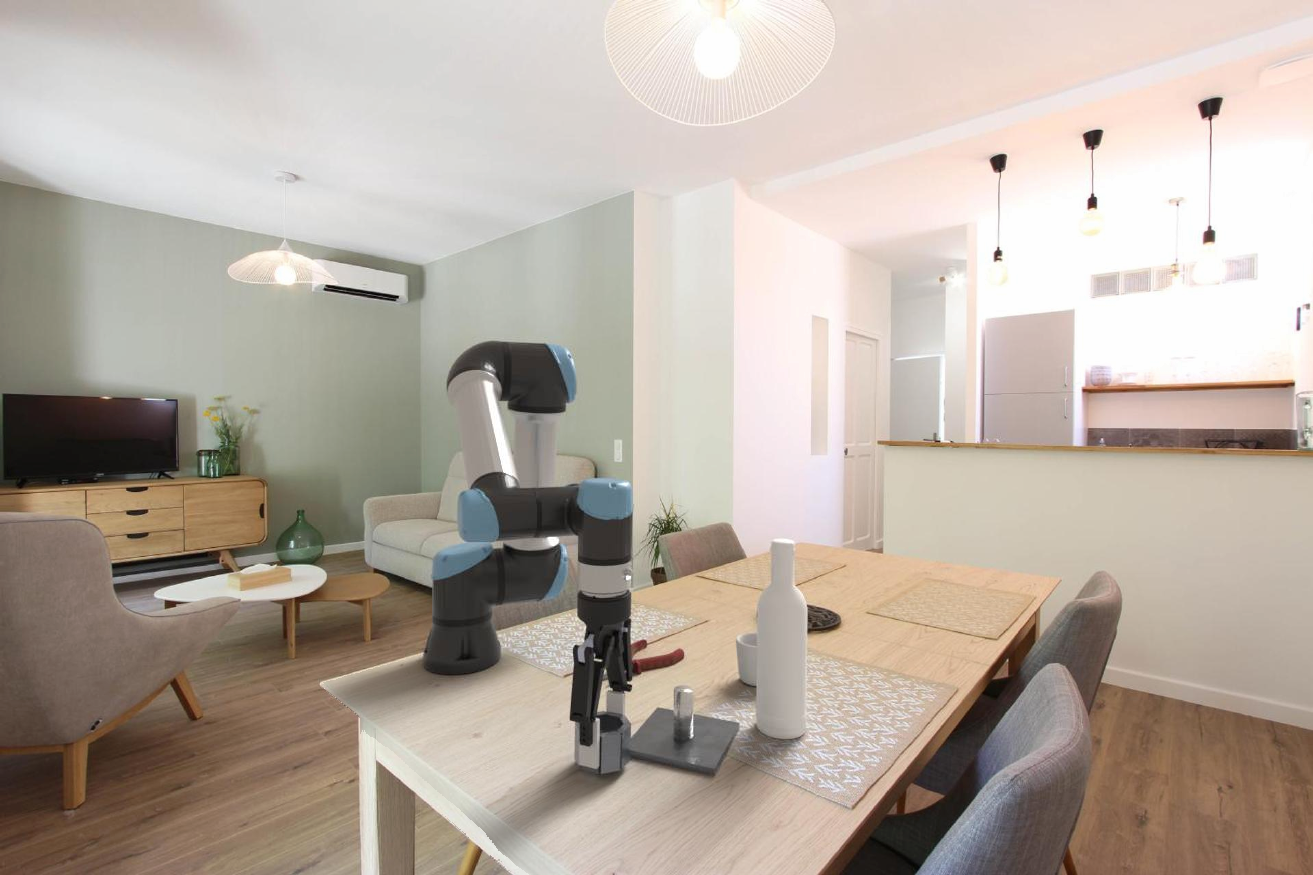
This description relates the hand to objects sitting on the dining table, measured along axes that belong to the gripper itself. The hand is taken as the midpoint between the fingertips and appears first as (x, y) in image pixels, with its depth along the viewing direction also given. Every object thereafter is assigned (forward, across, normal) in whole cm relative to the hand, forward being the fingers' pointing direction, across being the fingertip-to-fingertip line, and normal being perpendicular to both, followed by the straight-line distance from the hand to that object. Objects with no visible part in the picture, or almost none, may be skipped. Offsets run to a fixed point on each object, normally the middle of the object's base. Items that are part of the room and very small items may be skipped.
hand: (602, 749), depth 87 cm
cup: (+3, +37, -15) cm, 40 cm away
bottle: (+3, +21, -21) cm, 30 cm away
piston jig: (+2, +11, -8) cm, 14 cm away
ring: (+1, 0, 0) cm, 1 cm away
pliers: (+4, +36, +11) cm, 37 cm away
